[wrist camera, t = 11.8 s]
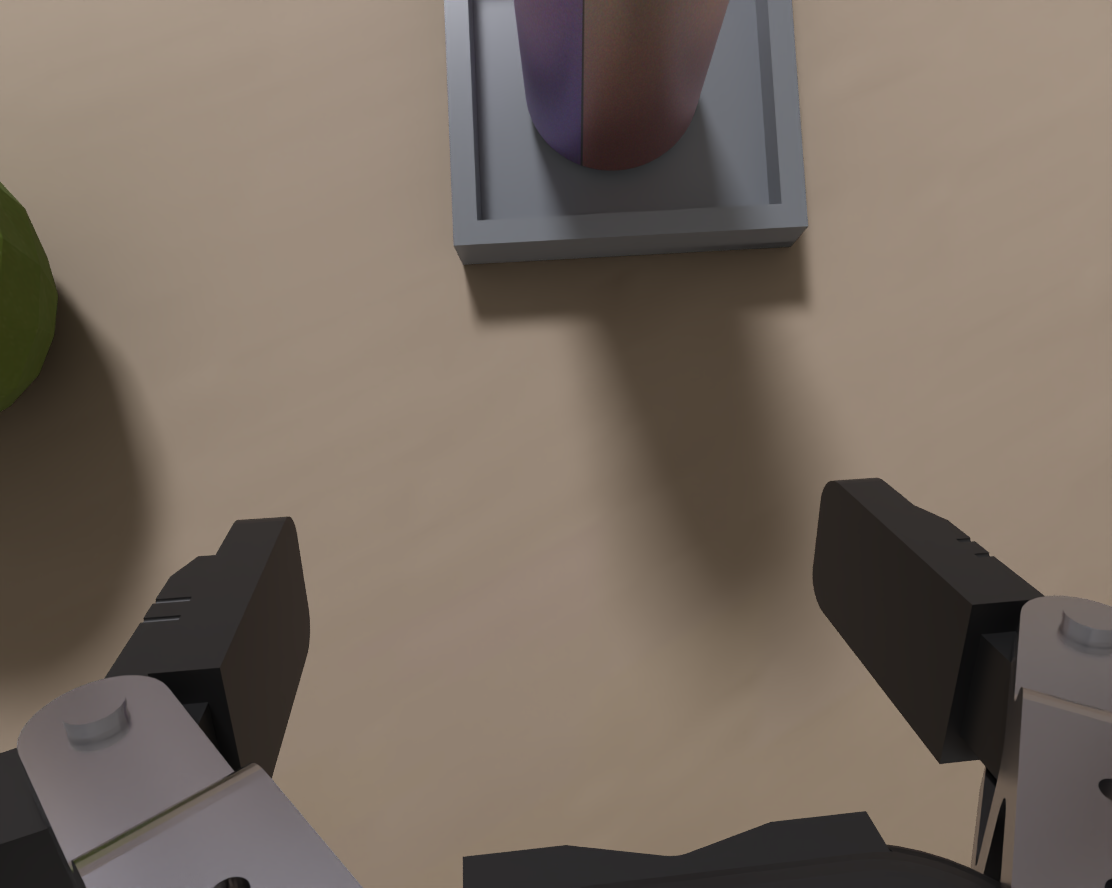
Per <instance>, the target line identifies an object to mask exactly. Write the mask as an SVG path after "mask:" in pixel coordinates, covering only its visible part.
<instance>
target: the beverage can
mask: <svg viewBox="0 0 1112 888" xmlns="http://www.w3.org/2000/svg"><path fill="white" fill-rule="evenodd" d="M728 3H729V0H514V8H515V17H516V25H517V33H518V41H519V49H520V57H521V65H522V73H523V81H524V89H525V96H526V103H527V107H528V111H529V114H530V117H531V119H532V121H533V123H534V125H535V127H536V129H537V130H538V132H539V134H540V135H541V136H542V138H543V139H544V140H545V141H546V142H547V143H548V144H549V145H550V146H551V147H552V148H553V149H554V150H555V151H556V152H558V153H559V154H560V155H562V156H563V157H565V158H567V159H568V160H570V161H572V162H574V163H576V164H579V165H582V166H585V167H588V168H592V169H598V170H607V171H615V170H625V169H631V168H635V167H638V166H641V165H644V164H646V163H649V162H651V161H653V160H655V159H656V158H658V157H660V156H661V155H663V154H664V153H666V152H667V151H668V150H669V149H670V148H672V147H673V146H674V145H675V144H676V143H677V142H678V140H679V139H680V138H681V137H682V135H683V134H684V133H685V131H686V130H687V128H688V126H689V124H690V123H691V121H692V118H693V116H694V113H695V110H696V107H697V104H698V101H699V98H700V94H701V91H702V88H703V85H704V81H705V78H706V75H707V72H708V68H709V65H710V62H711V59H712V55H713V52H714V49H715V46H716V42H717V39H718V36H719V33H720V29H721V26H722V23H723V20H724V16H725V13H726V10H727V7H728Z"/></svg>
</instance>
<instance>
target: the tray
mask: <svg viewBox="0 0 1112 888" xmlns="http://www.w3.org/2000/svg"><path fill="white" fill-rule="evenodd" d="M444 10H445V35H446V61H447V86H448V112H449V137H450V163H451V188H452V214H453V240H454V247H455V249H456V251H457V253H458V256H459V258H460V260H461V262H462V264H463V265H464V264H482V263H501V262H519V261H538V260H556V259H575V258H593V257H612V256H630V255H648V254H667V253H685V252H704V251H722V250H741V249H759V248H778V247H791V246H792V244H793V243H794V242H795V241H796V240H797V239H798V237H799V236H800V235H801V234H802V233H803V231H804V230H805V229H806V228H807V227H808V219H807V206H806V192H805V178H804V164H803V150H802V136H801V122H800V108H799V95H798V81H797V67H796V53H795V39H794V25H793V11H792V0H729V3H728V7H727V10H726V13H725V16H724V20H723V23H722V26H721V29H720V33H719V36H718V39H717V42H716V46H715V49H714V52H713V55H712V59H711V62H710V65H709V68H708V72H707V75H706V78H705V81H704V85H703V88H702V91H701V94H700V98H699V101H698V104H697V107H696V110H695V113H694V116H693V118H692V121H691V123H690V124H689V126H688V128H687V130H686V131H685V133H684V134H683V135H682V137H681V138H680V139H679V140H678V142H677V143H676V144H675V145H674V146H673V147H672V148H670V149H669V150H668V151H667V152H666V153H664V154H663V155H661V156H660V157H658V158H656V159H655V160H653V161H651V162H649V163H646V164H644V165H641V166H638V167H635V168H631V169H625V170H615V171H607V170H598V169H592V168H588V167H585V166H582V165H579V164H576V163H574V162H572V161H570V160H568V159H567V158H565V157H563V156H562V155H560V154H559V153H558V152H556V151H555V150H554V149H553V148H552V147H551V146H550V145H549V144H548V143H547V142H546V141H545V140H544V139H543V138H542V136H541V135H540V134H539V132H538V130H537V129H536V127H535V125H534V123H533V121H532V119H531V117H530V114H529V111H528V107H527V103H526V96H525V89H524V81H523V73H522V65H521V57H520V49H519V41H518V33H517V25H516V17H515V8H514V0H444Z"/></svg>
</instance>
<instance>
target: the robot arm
mask: <svg viewBox="0 0 1112 888" xmlns="http://www.w3.org/2000/svg"><path fill="white" fill-rule="evenodd" d="M813 586H814V592H815V596H816V599H817V602H818V604H819V606H820V608H821V610H822V611H823V613H824V614H825V615H826V617H827V618H828V619H829V621H830V622H831V623H832V625H833V626H834V627H835V628H836V630H837V631H838V632H839V634H840V635H841V636H842V638H843V639H844V640H845V641H846V643H847V644H848V645H849V647H850V648H851V649H852V651H853V652H854V653H855V654H856V656H857V657H858V658H859V660H860V661H861V662H862V664H863V665H864V666H865V667H866V669H867V670H868V671H869V673H870V674H871V675H872V677H873V678H874V679H875V680H876V682H877V683H878V684H879V686H880V687H881V688H882V690H883V691H884V692H885V693H886V695H887V696H888V697H889V699H890V700H891V701H892V703H893V704H894V705H895V706H896V708H897V709H898V710H899V712H900V713H901V714H902V716H903V717H904V718H905V719H906V721H907V722H908V723H909V725H910V726H911V727H912V729H913V730H914V731H915V732H916V734H917V735H918V736H919V738H920V739H921V740H922V742H923V743H924V744H925V745H926V747H927V748H928V749H929V751H930V752H931V753H932V755H933V756H934V757H935V758H936V760H937V761H938V762H939V764H944V763H953V762H962V761H971V760H981V761H982V763H983V764H984V765H985V769H984V773H983V777H982V782H981V786H980V791H979V800H978V808H977V817H976V826H975V834H974V843H973V851H972V860H971V868H969V867H966V866H964V865H961V864H959V863H956V862H954V861H951V860H949V859H946V858H943V857H939V856H936V855H933V854H930V853H926V852H923V851H919V850H914V849H909V848H904V847H900V846H893V845H886V844H885V842H884V840H883V839H882V837H881V835H880V834H879V832H878V830H877V829H876V827H875V825H874V824H873V822H872V821H871V819H870V817H869V816H868V814H867V812H866V811H864V812H855V813H846V814H837V815H829V816H820V817H811V818H802V819H793V820H784V821H776V822H770V823H767V824H764V825H762V826H759V827H756V828H754V829H751V830H748V831H746V832H743V833H740V834H738V835H735V836H732V837H730V838H727V839H724V840H722V841H719V842H716V843H714V844H711V845H708V846H706V847H703V848H700V849H698V850H695V851H692V852H690V853H687V854H683V855H679V856H661V855H652V854H642V853H633V852H624V851H614V850H605V849H596V848H587V847H577V846H568V845H564V846H555V847H546V848H537V849H528V850H520V851H511V852H502V853H493V854H484V855H475V856H467V857H463V888H1112V607H1111V606H1108V605H1105V604H1102V603H1099V602H1095V601H1091V600H1088V599H1082V598H1077V597H1069V596H1044V595H1043V594H1041V593H1040V592H1039V591H1037V590H1036V589H1035V588H1034V587H1032V586H1031V585H1030V584H1029V583H1027V582H1026V581H1025V580H1023V579H1022V578H1021V577H1020V576H1018V575H1017V574H1016V573H1015V572H1013V571H1012V570H1011V569H1009V568H1008V567H1007V566H1006V565H1004V564H1003V563H1002V562H1000V561H999V560H998V559H997V558H995V557H994V556H991V557H990V556H989V552H988V551H986V550H985V549H984V548H983V547H981V546H980V545H979V544H977V543H976V542H975V541H974V542H971V541H970V537H969V536H967V535H966V534H965V533H963V532H962V531H961V530H960V529H958V528H957V527H956V526H954V525H953V524H952V523H951V522H949V521H948V520H946V519H944V518H942V517H939V516H937V515H935V514H933V513H930V512H928V511H926V510H924V509H921V508H919V507H917V506H914V505H913V504H912V503H911V502H909V501H908V500H907V499H906V498H904V497H903V496H902V495H901V494H899V493H898V492H897V491H896V490H894V489H893V488H892V487H891V486H890V485H888V484H887V483H886V482H885V481H883V480H882V479H880V478H867V479H852V480H837V481H830V482H828V483H827V484H826V485H825V487H824V489H823V492H822V496H821V503H820V512H819V520H818V529H817V538H816V546H815V555H814V564H813ZM309 639H310V617H309V608H308V602H307V595H306V589H305V582H304V576H303V570H302V563H301V557H300V551H299V544H298V538H297V532H296V528H295V524H294V522H293V520H292V518H291V517H277V518H262V519H247V520H237V521H235V522H234V524H233V526H232V527H231V529H230V531H229V533H228V534H227V536H226V538H225V539H224V541H223V543H222V545H221V546H220V548H219V550H218V552H217V553H216V555H211V556H198V557H197V558H195V559H194V560H193V561H191V562H190V563H188V564H187V565H186V566H184V567H183V568H182V569H180V570H179V571H177V572H176V573H175V574H173V575H172V576H171V577H170V578H169V579H168V581H167V583H166V584H165V586H164V587H163V589H162V590H161V592H160V593H159V595H158V596H157V598H156V604H152V606H151V607H150V609H149V610H148V612H147V613H146V615H145V617H144V622H143V623H140V624H139V626H138V627H137V629H136V630H135V632H134V633H133V635H132V637H131V638H130V640H129V641H128V643H127V644H126V646H125V647H124V649H123V650H122V652H121V654H120V655H119V657H118V658H117V660H116V661H115V663H114V664H113V666H112V667H111V669H110V671H109V672H108V674H107V675H106V677H105V678H104V679H101V680H98V681H95V682H91V683H88V684H86V685H83V686H80V687H78V688H75V689H73V690H71V691H69V692H67V693H65V694H63V695H61V696H60V697H58V698H56V699H54V700H53V701H51V702H50V703H49V704H47V705H46V706H44V707H43V708H42V709H41V710H39V711H38V712H37V713H36V714H35V715H34V716H33V717H32V718H31V719H30V720H29V721H28V722H27V723H26V725H25V726H24V728H23V729H22V731H21V733H20V735H19V738H18V742H17V748H15V749H12V750H9V751H6V752H3V753H0V888H363V887H362V886H361V885H360V884H359V883H358V881H357V880H356V879H355V878H354V877H353V876H352V874H351V873H350V872H349V871H348V870H347V868H346V867H345V866H344V865H343V864H342V862H341V861H340V860H339V859H338V858H337V856H336V855H335V854H334V853H333V852H332V850H331V849H330V848H329V847H328V846H327V844H326V843H325V842H324V841H323V840H322V838H321V837H320V836H319V835H318V834H317V833H316V831H315V830H314V829H313V828H312V827H311V825H310V824H309V823H308V822H307V821H306V819H305V818H304V817H303V816H302V815H301V813H300V812H299V811H298V810H297V809H296V807H295V806H294V805H293V804H292V803H291V801H290V800H289V799H288V798H287V797H286V796H285V794H284V793H283V792H282V791H281V790H280V788H279V787H278V786H277V785H276V784H275V782H274V781H273V780H272V776H273V772H274V769H275V765H276V762H277V758H278V755H279V751H280V748H281V744H282V741H283V737H284V734H285V730H286V727H287V723H288V720H289V716H290V713H291V709H292V706H293V702H294V699H295V695H296V692H297V688H298V685H299V681H300V678H301V674H302V671H303V667H304V664H305V661H306V657H307V653H308V648H309Z"/></svg>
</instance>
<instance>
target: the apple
mask: <svg viewBox="0 0 1112 888" xmlns="http://www.w3.org/2000/svg"><path fill="white" fill-rule="evenodd" d="M57 302H58V293H57V290H56V286H55V283H54V279H53V276H52V272H51V269H50V265H49V261H48V258H47V256H46V253H45V251H44V249H43V247H42V245H41V243H40V240H39V238H38V236H37V234H36V232H35V229H34V227H33V225H32V223H31V221H30V219H29V216H28V214H27V212H26V210H25V208H24V207H23V206H22V205H21V204H20V203H19V202H18V201H17V200H16V198H15V197H14V196H13V195H12V194H11V193H10V192H9V191H8V190H7V189H6V188H5V187H4V185H3V184H2V183H1V182H0V412H1V411H3V410H4V409H6V408H8V407H10V406H11V405H12V404H13V403H14V401H15V400H16V399H17V398H18V397H19V396H20V395H21V394H22V393H23V392H24V391H25V389H26V388H27V387H28V386H29V385H30V384H31V383H32V382H33V381H34V380H35V379H36V377H37V376H38V375H39V373H40V371H41V368H42V366H43V363H44V361H45V358H46V355H47V353H48V350H49V348H50V345H51V343H52V340H53V337H54V332H55V322H56V312H57Z"/></svg>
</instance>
